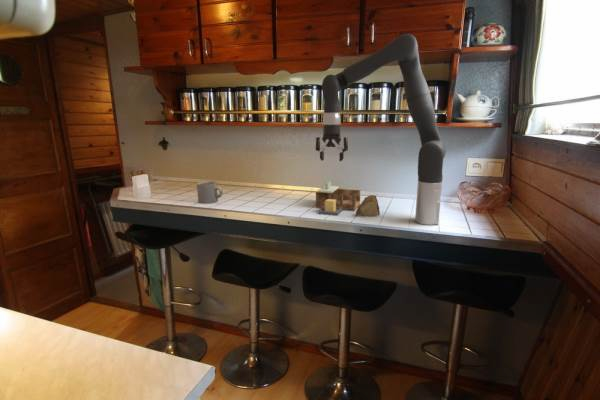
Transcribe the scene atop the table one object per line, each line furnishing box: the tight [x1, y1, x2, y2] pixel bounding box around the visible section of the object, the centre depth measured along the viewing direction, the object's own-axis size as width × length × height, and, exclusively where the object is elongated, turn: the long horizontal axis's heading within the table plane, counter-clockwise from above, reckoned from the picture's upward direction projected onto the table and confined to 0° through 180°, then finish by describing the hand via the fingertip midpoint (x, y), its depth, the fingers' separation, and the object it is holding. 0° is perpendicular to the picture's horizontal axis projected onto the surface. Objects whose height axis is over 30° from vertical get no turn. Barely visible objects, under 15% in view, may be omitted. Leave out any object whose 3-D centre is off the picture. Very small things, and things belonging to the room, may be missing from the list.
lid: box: [317, 180, 340, 193], centre depth 169 cm, size 7×12×4 cm, turn 158°
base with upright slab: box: [131, 173, 152, 199], centre depth 192 cm, size 9×9×12 cm
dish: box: [317, 206, 344, 216], centre depth 159 cm, size 9×9×1 cm
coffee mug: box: [196, 180, 223, 205], centre depth 179 cm, size 13×10×10 cm
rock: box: [354, 194, 381, 218], centre depth 153 cm, size 11×9×10 cm
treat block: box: [325, 199, 336, 212], centre depth 159 cm, size 4×4×5 cm
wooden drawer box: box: [315, 188, 361, 212], centre depth 168 cm, size 19×12×8 cm, turn 68°
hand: (331, 160), depth 153 cm, fingers open, 8 cm apart
